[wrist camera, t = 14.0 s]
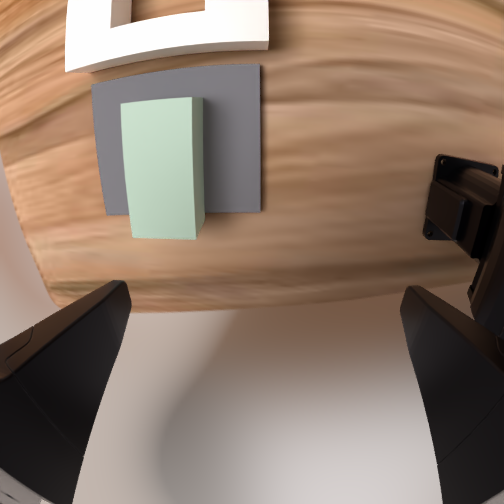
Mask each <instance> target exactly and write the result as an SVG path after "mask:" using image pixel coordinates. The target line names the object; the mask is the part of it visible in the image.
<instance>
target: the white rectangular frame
mask: <svg viewBox="0 0 504 504" xmlns="http://www.w3.org/2000/svg"><path fill="white" fill-rule="evenodd" d="M131 8H132V0H68V8H67V21H66V42H65V72H79V73H91V72H95V71H99V70H103V69H107V68H111V67H115V66H120V65H124V64H129V63H134V62H139V61H145V60H150V59H156V58H163V57H170V56H177V55H185V54H195V53H206V52H219V51H240V50H268V44H269V20H268V0H205V11H200V12H191V13H183V14H176V15H170V16H164V17H159V18H153V19H148V20H143V21H139V22H134V23H131Z"/></svg>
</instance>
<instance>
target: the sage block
mask: <svg viewBox="0 0 504 504" xmlns="http://www.w3.org/2000/svg"><path fill="white" fill-rule="evenodd" d="M121 128H122V145H123V159H124V170H125V181H126V190H127V199H128V207H129V215H130V222H131V229H132V236H133V238H159V239H190V240H196V239H197V237H198V234H199V232H200V230H201V228H202V225H203V223H204V221H205V206H204V169H203V98H202V97H186V98H170V99H158V100H148V101H139V102H130V103H123V104H121Z"/></svg>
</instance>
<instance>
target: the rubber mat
mask: <svg viewBox="0 0 504 504" xmlns="http://www.w3.org/2000/svg"><path fill="white" fill-rule="evenodd" d="M91 87H92V105H93V119H94V130H95V140H96V149H97V157H98V165H99V172H100V179H101V185H102V192H103V197H104V203H105V209H106V214H107V216H108V215H129V207H128V199H127V190H126V181H125V170H124V159H123V145H122V128H121V104H123V103H130V102H139V101H148V100H158V99H170V98H186V97H202V98H203V169H204V206H205V213H231V212H258V213H260V64H231V65H213V66H200V67H189V68H180V69H172V70H164V71H158V72H151V73H145V74H139V75H134V76H128V77H123V78H118V79H114V80H109V81H105V82H101V83H96V84H92V85H91Z"/></svg>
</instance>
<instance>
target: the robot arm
mask: <svg viewBox="0 0 504 504" xmlns="http://www.w3.org/2000/svg"><path fill="white" fill-rule="evenodd" d="M442 159H443V161H444V162H443V163H442V164H441V160H442ZM493 170H494V172H493ZM498 173H499V170H498V168H497V167H496V166H494V165H492V164H487V163H483V162H479V161H474V160H469V159H464V158H459V157H454V156H449V155H443V154H439V155H438V156H437V157H436V159H435V166H434V173H433V180H432V183H431V186H430V192H429V198H428V204H427V209H426V219H425V224H424V228H423V236H424V237H425V238H426V239H428V240H452V241H454V242H455V243H457V244H458V245H459V246H460V247H461V248H462V249H463V250H464V251H465V252H466V253H467V254H468V255H469V256H470V257H471V258H474V259H475V260H476V261H477V262H478V263H479V266H478V269H477V272H476V275H475V277H474V280H473V283H472V285H470V287H469V289H468V292H467V294H468V297H469V300H470V303H471V306H470V308H471V311H472V314H473V317H474V319H475V320H473V319H471V318H470V317H468V316H467V315H465V314H464V313H462V312H461V311H459V310H458V309H456V308H454V307H453V306H451V305H450V304H448V303H446V302H445V301H443V300H442V299H440V298H439V297H437V296H435V295H434V294H432V293H430V292H429V291H427V290H426V289H424V288H422V287H421V286H418V285H417V286H408V287H407V288H406V291H405V294H404V297H403V300H402V304H401V307H400V313H401V318H402V323H403V327H404V332H405V336H406V341H407V346H408V350H409V354H410V357H411V361H412V364H413V367H414V371H415V374H416V377H417V381H418V384H419V388H420V392H421V395H422V399H423V402H424V407H425V411H426V415H427V419H428V423H429V427H430V432H431V436H432V441H433V446H434V451H435V456H436V461H437V464H438V465H437V468H438V474H439V479H440V486H441V493H442V500H443V504H504V165H502V170H501V174H502V179H501V180H500V179H498ZM429 231H431V232H430V234H428V232H429ZM131 306H132V303H131V298H130V295H129V291H128V287H127V284H126V282H125V281H122V280H113V281H111V282H109V283H107V284H105V285H104V286H102V287H100V288H98V289H96V290H95V291H93V292H91V293H89V294H87V295H86V296H84V297H82V298H80V299H78V300H77V301H75V302H73V303H71V304H70V305H68V306H66V307H64V308H63V309H61V310H59V311H58V312H56V313H54V314H52V315H51V316H49V317H47V318H46V319H44V320H42V321H40V322H39V323H37V324H35V325H34V327H33V326H32V327H30V328H29V329H27V330H25V331H24V332H22V333H20V334H19V335H17V336H15V337H13V338H11V339H9V340H8V341H6V342H4V343H2V344H0V504H40V502H41V499H43V500H45V501H47V502H49V503H51V504H72V502H73V498H74V494H75V489H76V485H77V481H78V477H79V474H80V470H81V466H82V462H83V459H84V457H83V456H84V454H85V451H86V447H87V444H88V441H89V437H90V434H91V431H92V427H93V424H94V421H95V418H96V415H97V412H98V409H99V405H100V402H101V400H102V396H103V394H104V391H105V388H106V385H107V382H108V379H109V377H110V374H111V371H112V368H113V366H114V363H115V360H116V358H117V355H118V352H119V349H120V346H121V343H122V340H123V336H124V332H125V329H126V325H127V321H128V318H129V314H130V311H131Z"/></svg>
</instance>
